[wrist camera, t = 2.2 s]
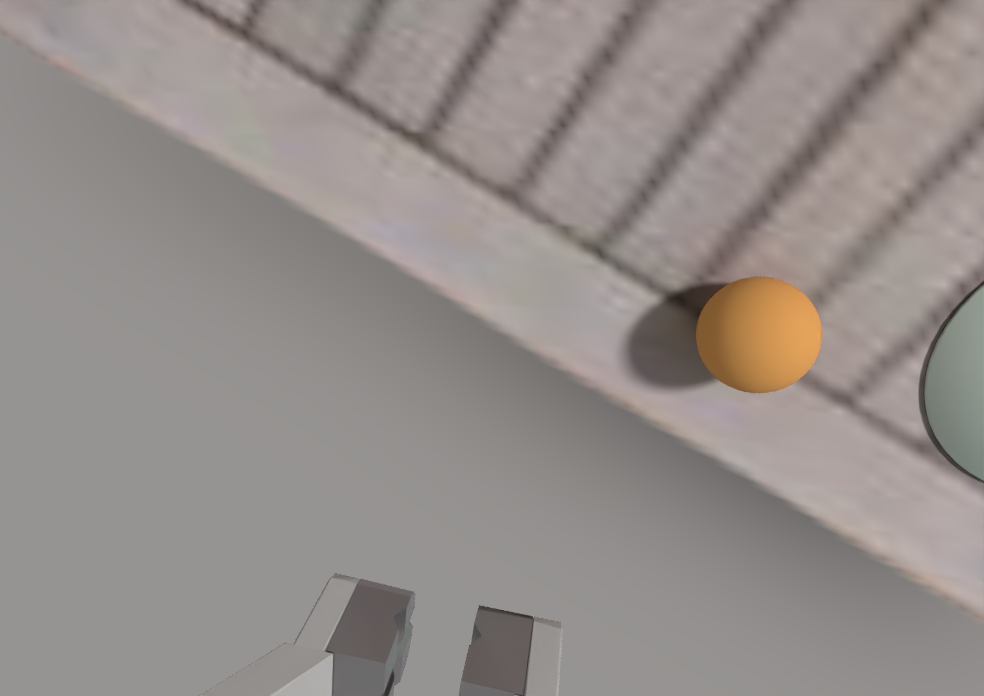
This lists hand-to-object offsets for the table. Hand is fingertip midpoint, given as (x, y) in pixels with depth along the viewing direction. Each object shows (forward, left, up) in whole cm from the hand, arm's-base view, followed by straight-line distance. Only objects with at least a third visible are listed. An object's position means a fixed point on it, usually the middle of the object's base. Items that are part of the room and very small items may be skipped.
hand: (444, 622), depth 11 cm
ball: (+1, +9, -19) cm, 21 cm away
